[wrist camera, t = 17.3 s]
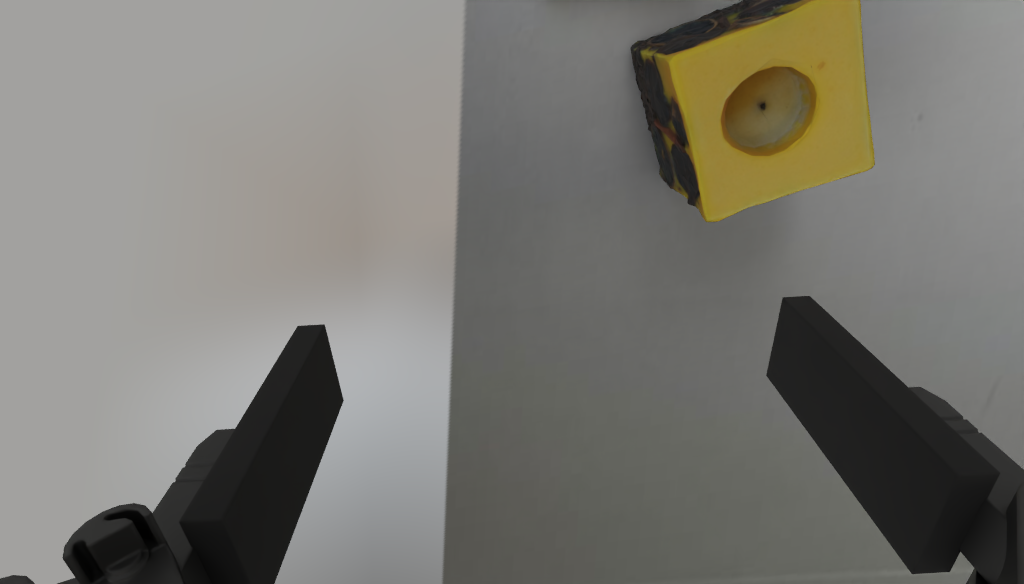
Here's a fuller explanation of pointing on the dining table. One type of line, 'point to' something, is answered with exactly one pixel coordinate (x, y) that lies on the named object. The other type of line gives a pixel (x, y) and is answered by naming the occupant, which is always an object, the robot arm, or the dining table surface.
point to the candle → (757, 101)
